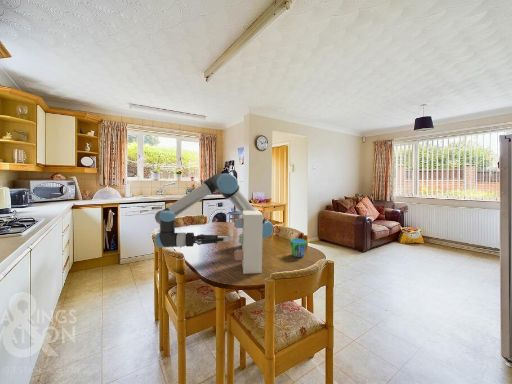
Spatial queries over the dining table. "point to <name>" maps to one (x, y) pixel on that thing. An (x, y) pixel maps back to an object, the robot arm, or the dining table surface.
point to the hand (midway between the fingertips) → (229, 238)
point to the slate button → (238, 223)
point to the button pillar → (252, 241)
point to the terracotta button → (238, 254)
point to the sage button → (241, 238)
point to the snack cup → (298, 247)
